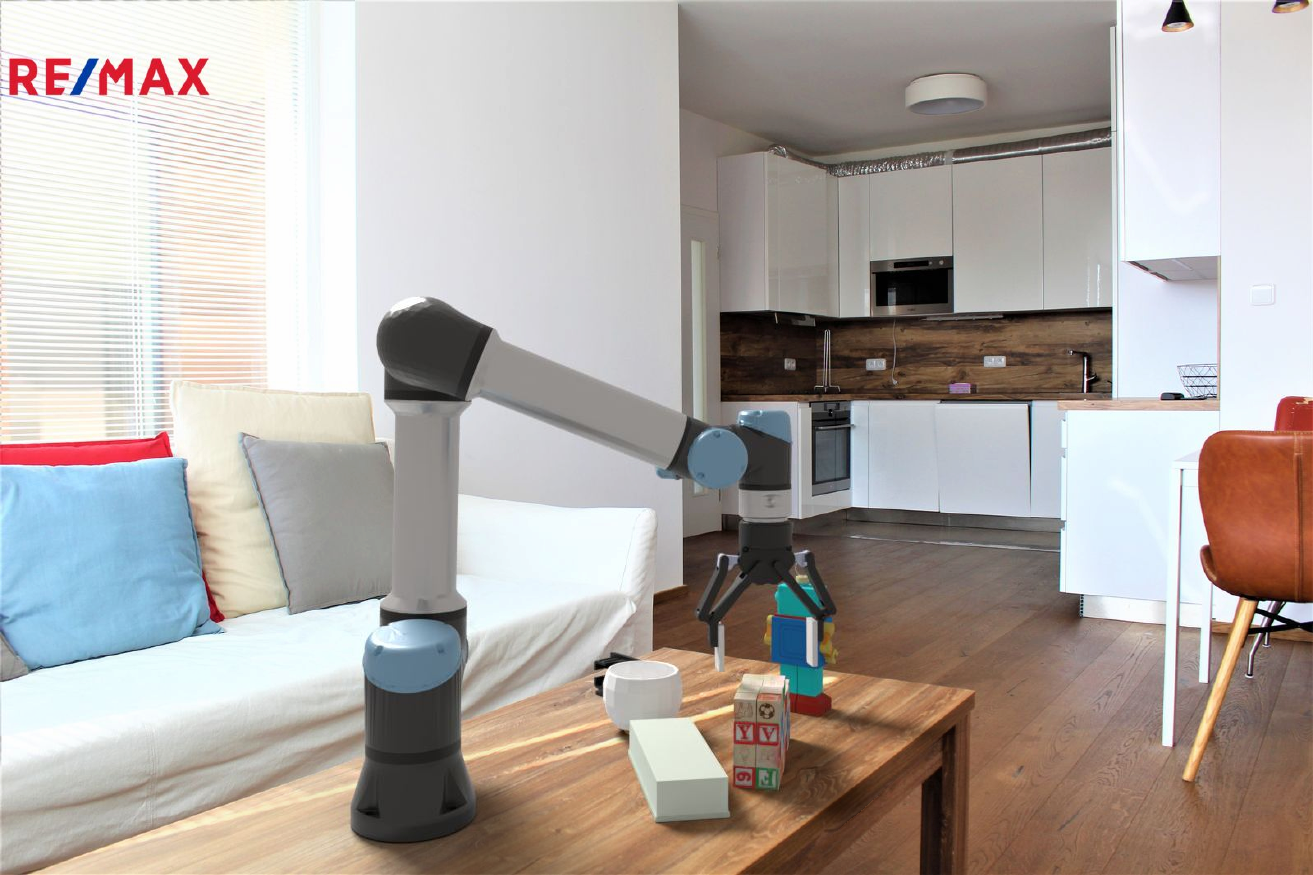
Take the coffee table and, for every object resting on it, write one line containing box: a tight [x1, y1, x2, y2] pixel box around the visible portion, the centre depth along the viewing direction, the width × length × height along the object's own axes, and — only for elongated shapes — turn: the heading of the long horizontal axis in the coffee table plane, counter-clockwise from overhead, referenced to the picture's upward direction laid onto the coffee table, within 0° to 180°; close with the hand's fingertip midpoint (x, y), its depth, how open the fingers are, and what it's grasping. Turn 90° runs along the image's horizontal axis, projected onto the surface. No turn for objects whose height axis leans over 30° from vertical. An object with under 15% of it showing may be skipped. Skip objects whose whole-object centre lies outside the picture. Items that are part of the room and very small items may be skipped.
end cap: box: [593, 651, 644, 698], centre depth 179 cm, size 10×7×7 cm
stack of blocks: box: [732, 673, 791, 791], centre depth 148 cm, size 21×6×12 cm, turn 169°
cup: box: [602, 660, 683, 735], centre depth 161 cm, size 12×12×10 cm
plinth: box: [627, 716, 731, 823], centre depth 139 cm, size 9×24×5 cm, turn 9°
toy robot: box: [763, 561, 839, 717], centre depth 172 cm, size 12×6×25 cm, turn 58°
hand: (766, 667), depth 147 cm, fingers open, 13 cm apart
